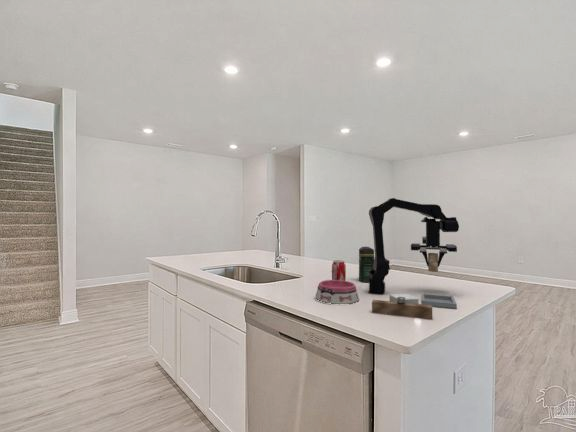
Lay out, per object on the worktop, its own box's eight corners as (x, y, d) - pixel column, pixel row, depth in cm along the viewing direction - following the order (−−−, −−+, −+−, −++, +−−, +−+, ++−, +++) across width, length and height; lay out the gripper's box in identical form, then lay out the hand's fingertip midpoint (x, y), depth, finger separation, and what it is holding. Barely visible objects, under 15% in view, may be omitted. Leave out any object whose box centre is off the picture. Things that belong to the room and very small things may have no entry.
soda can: (345, 286, 154) (345, 262, 154) (331, 285, 156) (331, 262, 156) (345, 283, 161) (345, 260, 161) (332, 282, 162) (332, 260, 162)
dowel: (428, 271, 138) (428, 253, 138) (428, 269, 142) (428, 252, 142) (438, 272, 137) (438, 254, 137) (437, 270, 141) (437, 253, 141)
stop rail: (372, 312, 112) (371, 296, 112) (373, 310, 115) (373, 294, 115) (432, 319, 104) (432, 301, 104) (432, 316, 107) (431, 299, 107)
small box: (407, 306, 120) (407, 293, 120) (419, 312, 113) (419, 298, 113) (389, 307, 119) (388, 294, 119) (399, 313, 111) (399, 299, 111)
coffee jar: (375, 283, 161) (375, 247, 161) (360, 282, 162) (360, 247, 162) (372, 279, 171) (372, 245, 171) (358, 278, 172) (358, 245, 172)
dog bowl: (367, 298, 132) (367, 282, 132) (344, 308, 118) (344, 290, 118) (331, 291, 144) (331, 277, 144) (306, 299, 130) (306, 283, 130)
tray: (421, 305, 120) (421, 300, 120) (421, 298, 131) (421, 293, 131) (456, 309, 116) (456, 303, 116) (453, 301, 127) (453, 296, 127)
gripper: (454, 231, 143) (454, 264, 143) (411, 231, 150) (411, 262, 150) (456, 232, 133) (457, 268, 133) (410, 232, 140) (410, 266, 140)
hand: (433, 266), depth 139 cm, fingers closed on dowel, 4 cm apart
